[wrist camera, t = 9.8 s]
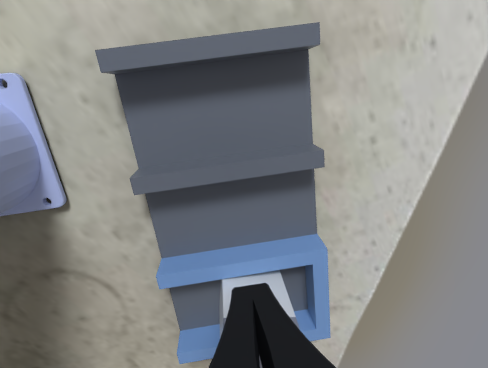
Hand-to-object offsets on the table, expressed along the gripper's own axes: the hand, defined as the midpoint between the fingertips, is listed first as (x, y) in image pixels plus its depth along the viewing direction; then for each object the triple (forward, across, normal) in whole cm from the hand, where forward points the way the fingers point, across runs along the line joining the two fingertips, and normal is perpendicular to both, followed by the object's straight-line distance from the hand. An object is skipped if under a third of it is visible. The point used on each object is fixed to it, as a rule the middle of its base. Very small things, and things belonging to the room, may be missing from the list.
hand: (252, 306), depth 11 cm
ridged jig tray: (+9, 0, 0) cm, 9 cm away
